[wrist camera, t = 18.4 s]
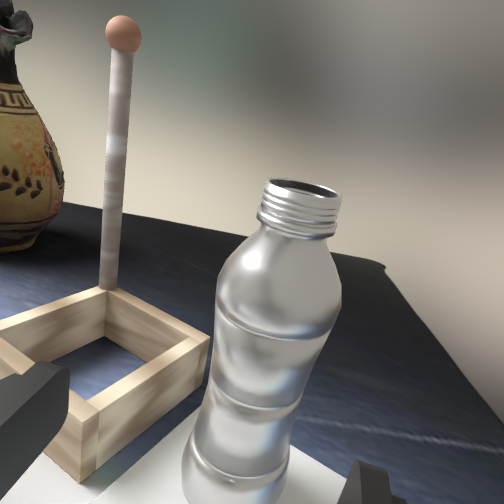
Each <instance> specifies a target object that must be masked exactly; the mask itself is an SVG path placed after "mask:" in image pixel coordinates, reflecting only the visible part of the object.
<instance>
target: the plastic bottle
mask: <svg viewBox="0 0 504 504" xmlns="http://www.w3.org/2000/svg"><path fill="white" fill-rule="evenodd" d="M341 198H342V195H341V194H340V193H338V192H337V191H335V190H332V189H330V188H327V187H324V186H321V185H318V184H314V183H311V182H306V181H302V180H296V179H290V178H280V177H273V178H268V179H267V181H266V183H265V186H264V191H263V196H262V201H261V205H259V206H258V210H257V215H256V216H257V219H258V220H259V221H260V222H261V225H260V227H259V229H258V230H257V231H256V232H254V233H253V234H252V235H251V236H250V237H249V238H247V239H246V240H245V241H244V242H243V243H242V244H241V245H240V246H239V247H238V248H237V249H236V250H235V251H234V252H233V253H232V254H231V255H230V256H229V258H228V259H227V260H226V262H225V264H224V266H223V267H222V269H221V271H220V273H219V275H218V279H217V287H216V295H215V297H216V301H215V321H214V345H213V352H212V359H211V366H210V367H211V368H210V373H209V380H208V385H207V388H206V392H205V395H204V398H203V401H202V405H201V408H200V411H199V414H198V418H197V421H196V422H195V425H194V427H193V429H192V431H191V433H190V435H189V437H188V440H187V443H186V445H185V448H184V451H183V455H182V460H181V471H182V488H183V492H184V496H185V498H186V500H187V502H188V504H275V503H276V502H277V500H278V498H279V497H280V495H281V493H282V492H283V489H284V487H285V484H286V479H287V472H288V466H289V459H290V442H291V437H292V432H293V427H294V422H295V417H296V412H297V407H298V405H299V402H300V400H301V397H302V394H303V391H304V388H305V386H306V384H307V381H308V378H309V375H310V373H311V370H312V367H313V365H314V363H315V361H316V359H317V357H318V355H319V353H320V351H321V349H322V347H323V345H324V343H325V341H326V339H327V337H328V335H329V333H330V331H331V329H332V327H333V325H334V323H335V321H336V318H337V316H338V313H339V311H340V309H341V283H340V279H339V276H338V273H337V269H336V266H335V264H334V261H333V259H332V257H331V254H330V252H329V250H328V247H327V245H326V239H327V238H328V237H331V236H333V235H334V234H335V230H336V227H337V223H336V219H337V215H338V212H339V208H340V205H341Z"/></svg>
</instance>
